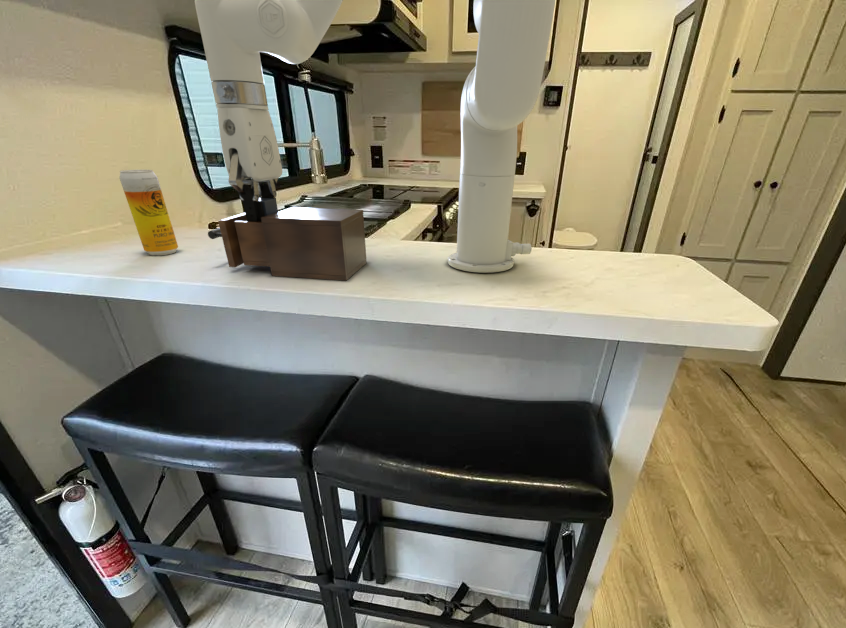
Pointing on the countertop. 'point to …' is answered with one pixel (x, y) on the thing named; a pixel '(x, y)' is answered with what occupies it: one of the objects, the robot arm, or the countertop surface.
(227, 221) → the drawer
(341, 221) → the cabinet
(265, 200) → the block
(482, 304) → the countertop surface
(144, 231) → the beer can
